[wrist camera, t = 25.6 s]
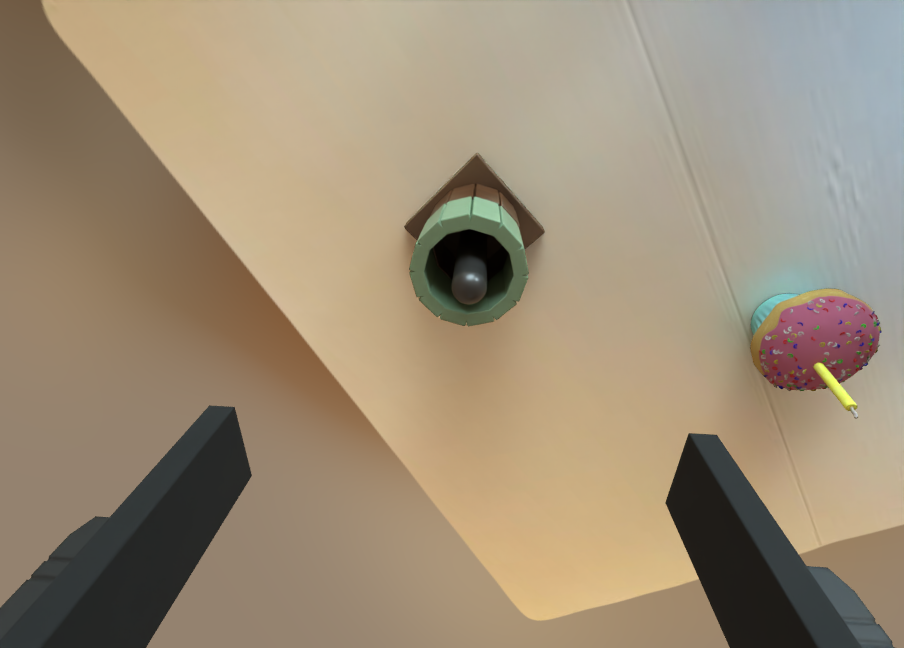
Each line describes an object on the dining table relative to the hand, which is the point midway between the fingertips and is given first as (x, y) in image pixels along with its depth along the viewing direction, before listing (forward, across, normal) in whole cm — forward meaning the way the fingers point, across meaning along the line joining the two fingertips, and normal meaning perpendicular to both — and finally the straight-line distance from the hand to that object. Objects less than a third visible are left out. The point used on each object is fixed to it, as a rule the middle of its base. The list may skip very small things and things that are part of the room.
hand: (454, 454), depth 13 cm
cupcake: (+27, +27, -7) cm, 39 cm away
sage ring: (+20, 0, 0) cm, 20 cm away
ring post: (+27, 0, 0) cm, 27 cm away
